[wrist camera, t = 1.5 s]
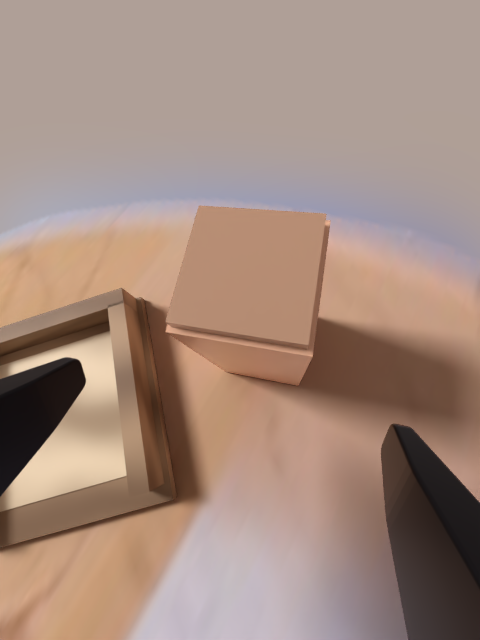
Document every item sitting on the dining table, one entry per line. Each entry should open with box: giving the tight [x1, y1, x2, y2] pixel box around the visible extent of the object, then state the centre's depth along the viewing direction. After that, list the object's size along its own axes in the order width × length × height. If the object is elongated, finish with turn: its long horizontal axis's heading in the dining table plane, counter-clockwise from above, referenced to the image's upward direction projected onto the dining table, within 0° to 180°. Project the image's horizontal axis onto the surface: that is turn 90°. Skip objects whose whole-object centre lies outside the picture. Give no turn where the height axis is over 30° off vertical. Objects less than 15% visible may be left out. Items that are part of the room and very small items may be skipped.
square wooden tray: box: [0, 288, 177, 548], centre depth 19 cm, size 14×14×3 cm
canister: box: [165, 206, 330, 386], centre depth 14 cm, size 5×5×11 cm
